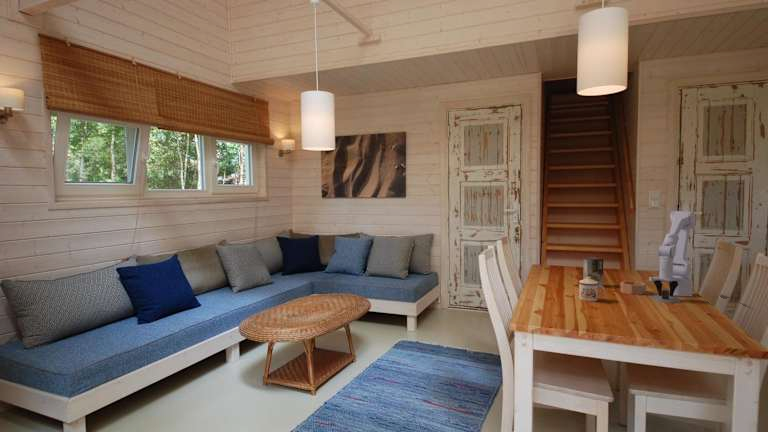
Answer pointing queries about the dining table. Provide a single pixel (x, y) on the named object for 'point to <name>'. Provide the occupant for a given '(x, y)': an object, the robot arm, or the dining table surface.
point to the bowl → (633, 287)
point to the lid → (665, 298)
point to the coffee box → (593, 269)
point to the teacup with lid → (589, 289)
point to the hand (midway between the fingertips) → (665, 295)
